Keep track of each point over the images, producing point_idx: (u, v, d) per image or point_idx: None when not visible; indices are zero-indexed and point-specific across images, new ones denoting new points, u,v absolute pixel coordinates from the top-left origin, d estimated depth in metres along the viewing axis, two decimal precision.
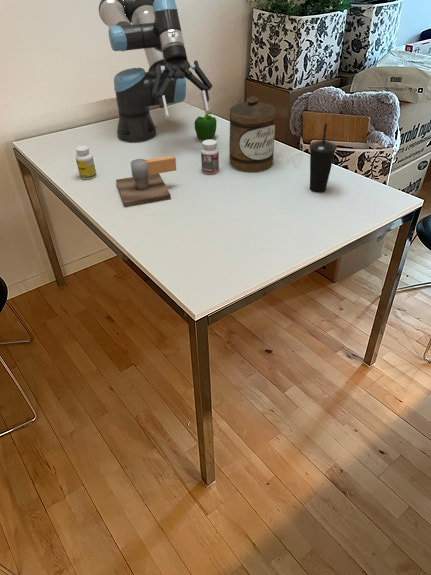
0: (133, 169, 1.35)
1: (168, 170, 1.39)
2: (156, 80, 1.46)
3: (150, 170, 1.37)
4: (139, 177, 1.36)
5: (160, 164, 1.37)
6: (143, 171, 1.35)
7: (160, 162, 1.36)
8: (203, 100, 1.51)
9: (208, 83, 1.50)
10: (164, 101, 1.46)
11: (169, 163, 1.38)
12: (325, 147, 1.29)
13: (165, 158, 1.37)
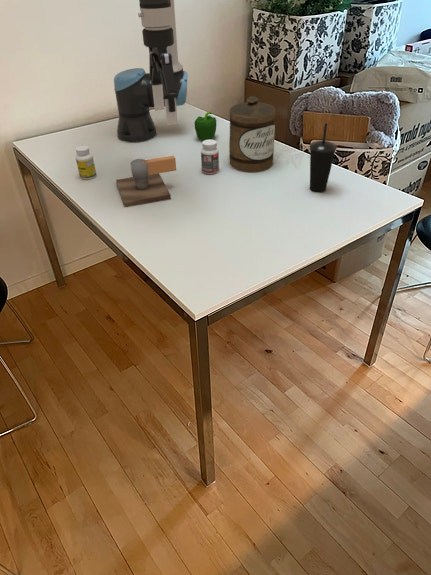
0: (133, 169, 1.35)
1: (168, 170, 1.39)
2: (149, 64, 1.22)
3: (150, 170, 1.37)
4: (139, 177, 1.36)
5: (160, 164, 1.37)
6: (143, 171, 1.35)
7: (160, 162, 1.36)
8: None
9: (167, 91, 1.11)
10: (153, 92, 1.26)
11: (169, 163, 1.38)
12: (325, 147, 1.29)
13: (165, 158, 1.37)
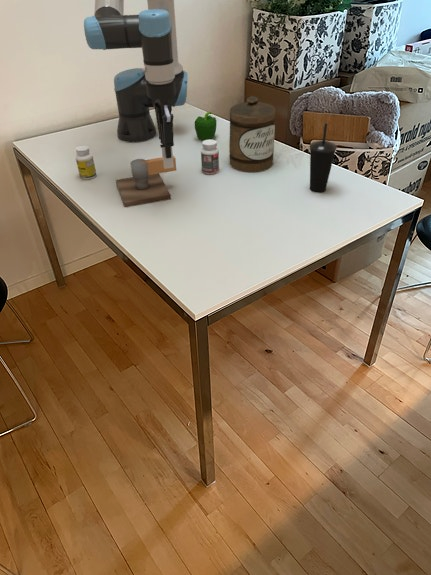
0: (133, 169, 1.35)
1: (168, 170, 1.39)
2: (157, 122, 1.27)
3: (150, 170, 1.37)
4: (139, 177, 1.36)
5: (160, 164, 1.37)
6: (143, 171, 1.35)
7: (160, 162, 1.36)
8: None
9: (164, 141, 1.23)
10: (162, 151, 1.29)
11: None
12: (325, 147, 1.29)
13: None
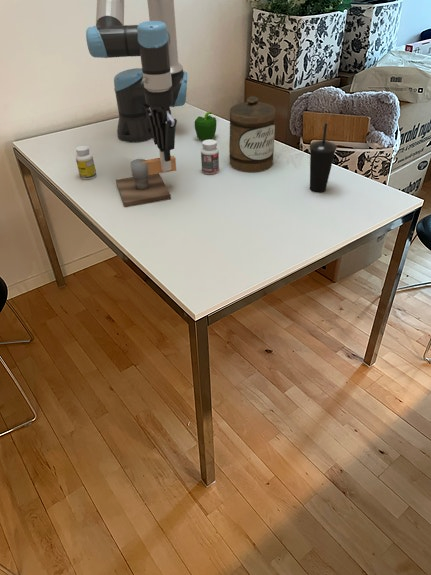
0: (133, 169, 1.35)
1: None
2: (151, 128, 1.32)
3: (150, 170, 1.37)
4: (139, 177, 1.36)
5: (160, 164, 1.37)
6: (143, 171, 1.35)
7: (160, 162, 1.36)
8: None
9: (165, 146, 1.29)
10: (160, 156, 1.34)
11: None
12: (325, 147, 1.29)
13: None
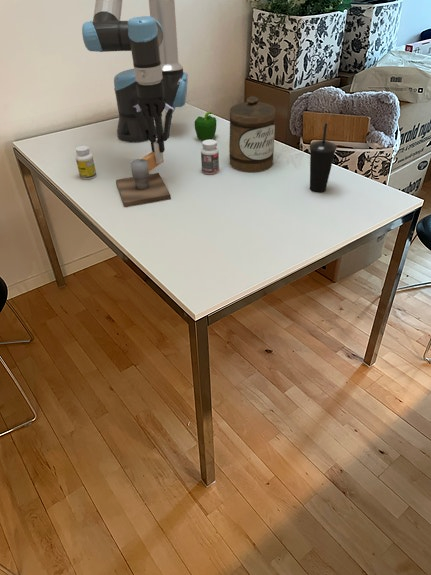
0: (139, 170, 1.34)
1: None
2: (140, 125, 1.34)
3: (148, 168, 1.39)
4: (145, 176, 1.36)
5: (154, 159, 1.40)
6: (147, 169, 1.36)
7: (154, 157, 1.40)
8: None
9: (164, 136, 1.34)
10: (155, 149, 1.38)
11: None
12: (325, 147, 1.29)
13: None
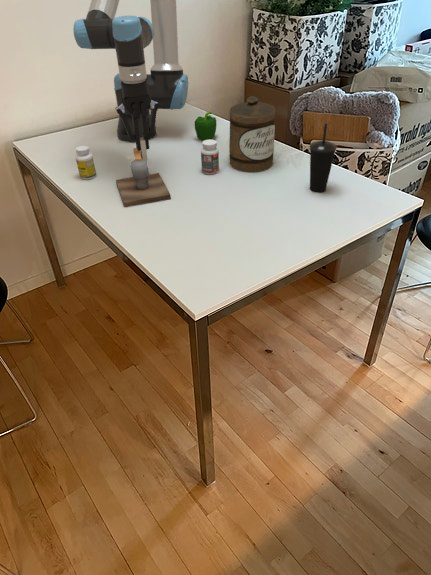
0: (144, 168, 1.35)
1: None
2: (126, 125, 1.34)
3: None
4: (148, 173, 1.37)
5: None
6: None
7: (140, 155, 1.41)
8: None
9: (151, 131, 1.38)
10: (142, 147, 1.39)
11: None
12: (325, 147, 1.29)
13: (137, 151, 1.42)
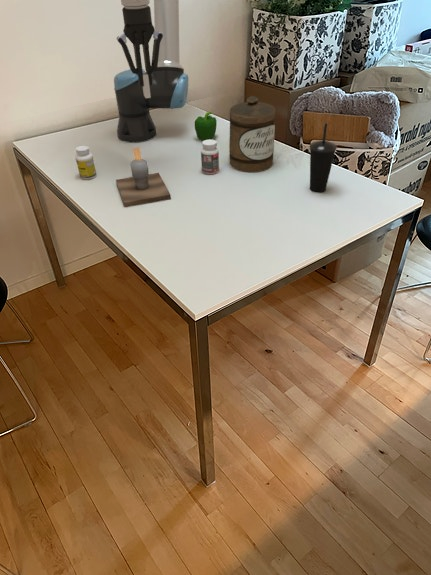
0: (144, 168, 1.35)
1: None
2: (128, 57, 1.27)
3: None
4: (148, 173, 1.37)
5: None
6: None
7: (140, 155, 1.41)
8: None
9: (154, 65, 1.31)
10: (145, 82, 1.33)
11: None
12: (325, 147, 1.29)
13: (137, 151, 1.42)
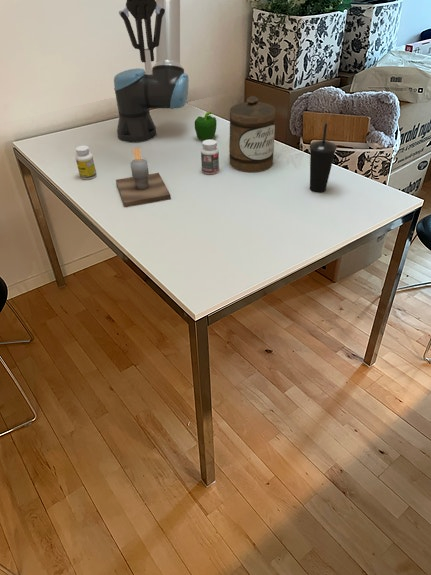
0: (144, 168, 1.35)
1: None
2: (130, 32, 1.28)
3: None
4: (148, 173, 1.37)
5: None
6: None
7: (140, 155, 1.41)
8: None
9: (156, 40, 1.32)
10: (146, 57, 1.33)
11: None
12: (325, 147, 1.29)
13: (137, 151, 1.42)
